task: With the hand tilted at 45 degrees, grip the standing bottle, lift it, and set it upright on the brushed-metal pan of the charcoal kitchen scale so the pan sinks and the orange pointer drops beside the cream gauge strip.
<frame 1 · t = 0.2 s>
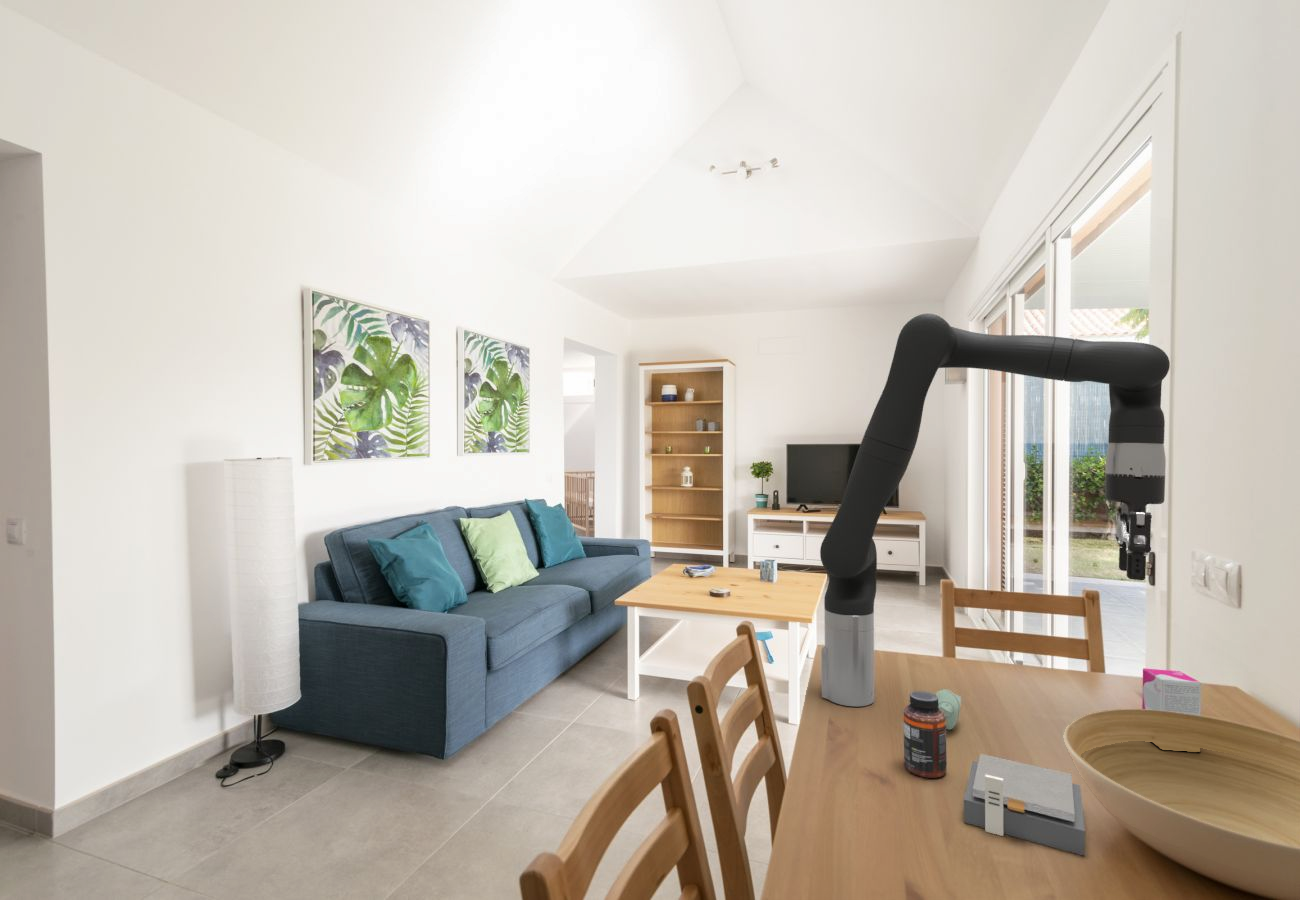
hand: (1131, 575, 100), 29 cm above the table, tool pointing down, fingers open, 8 cm apart
scale pan: (1022, 787, 83), point 4 cm above the table, slide at -0.5 cm
scale base: (1023, 814, 84), on the table
supplement box: (1170, 745, 104), on the table
supplement bottle: (924, 771, 96), on the table
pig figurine: (946, 730, 110), on the table
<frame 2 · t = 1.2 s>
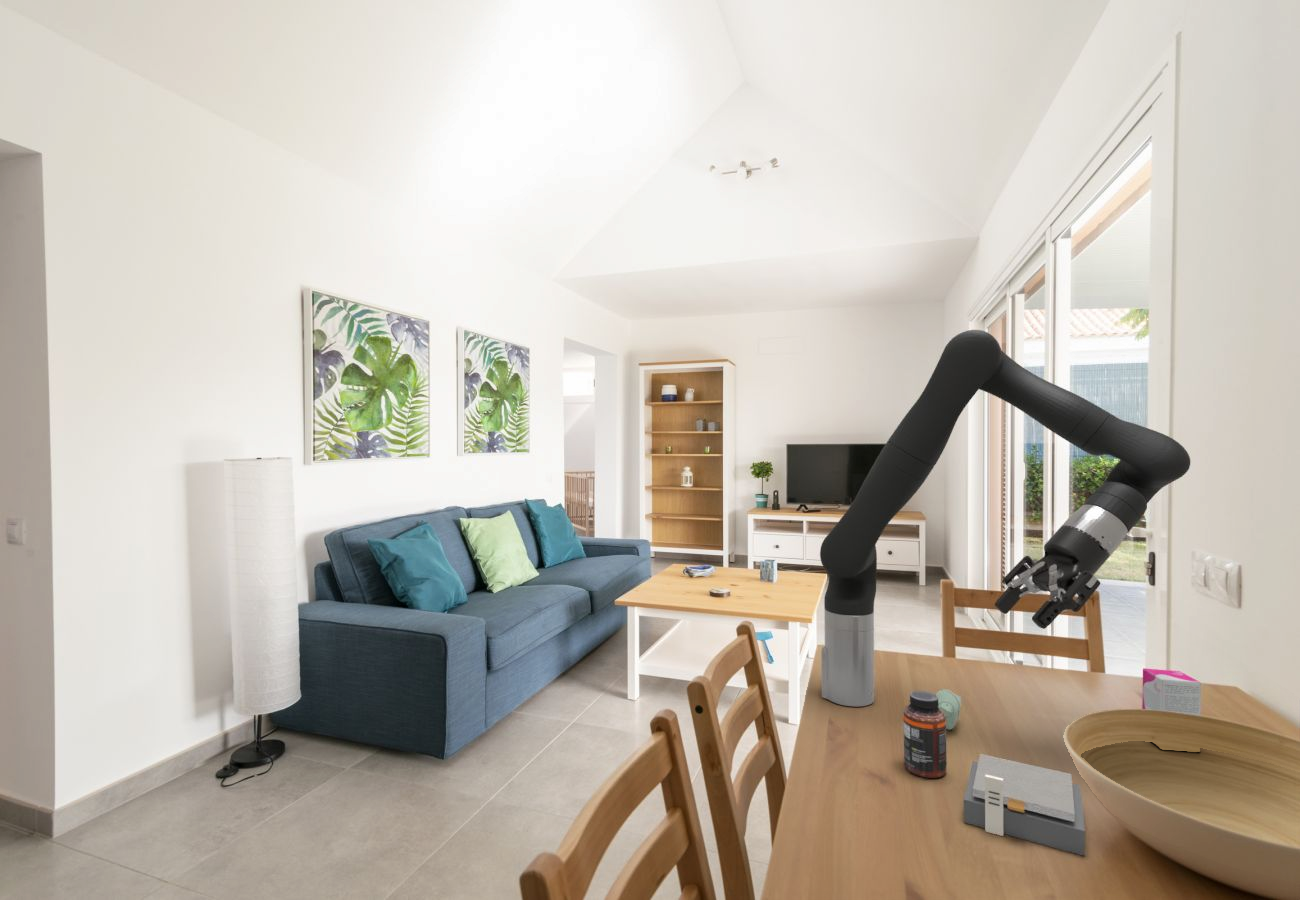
hand: (1017, 616, 97), 23 cm above the table, tool tilted 45°, fingers open, 8 cm apart
nothing on the table moved.
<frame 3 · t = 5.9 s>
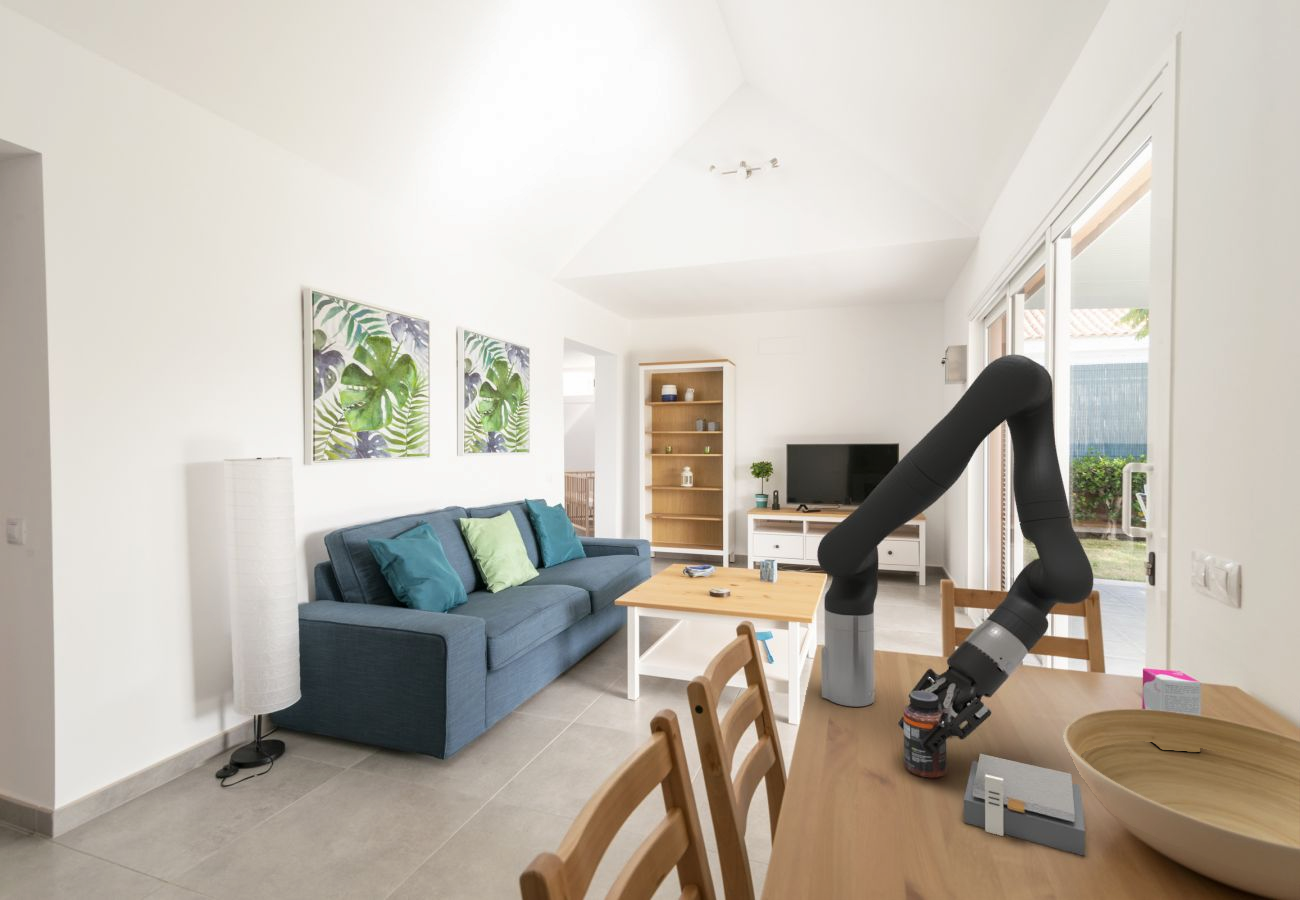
hand: (914, 738, 96), 5 cm above the table, tool tilted 45°, fingers closed on supplement bottle, 6 cm apart
supplement bottle: (924, 770, 96), on the table, touching gripper
everything else where it was.
when the fingers open (11 cm above the table, at t = 10.5 s): supplement bottle drops 2 cm, resting on scale pan.
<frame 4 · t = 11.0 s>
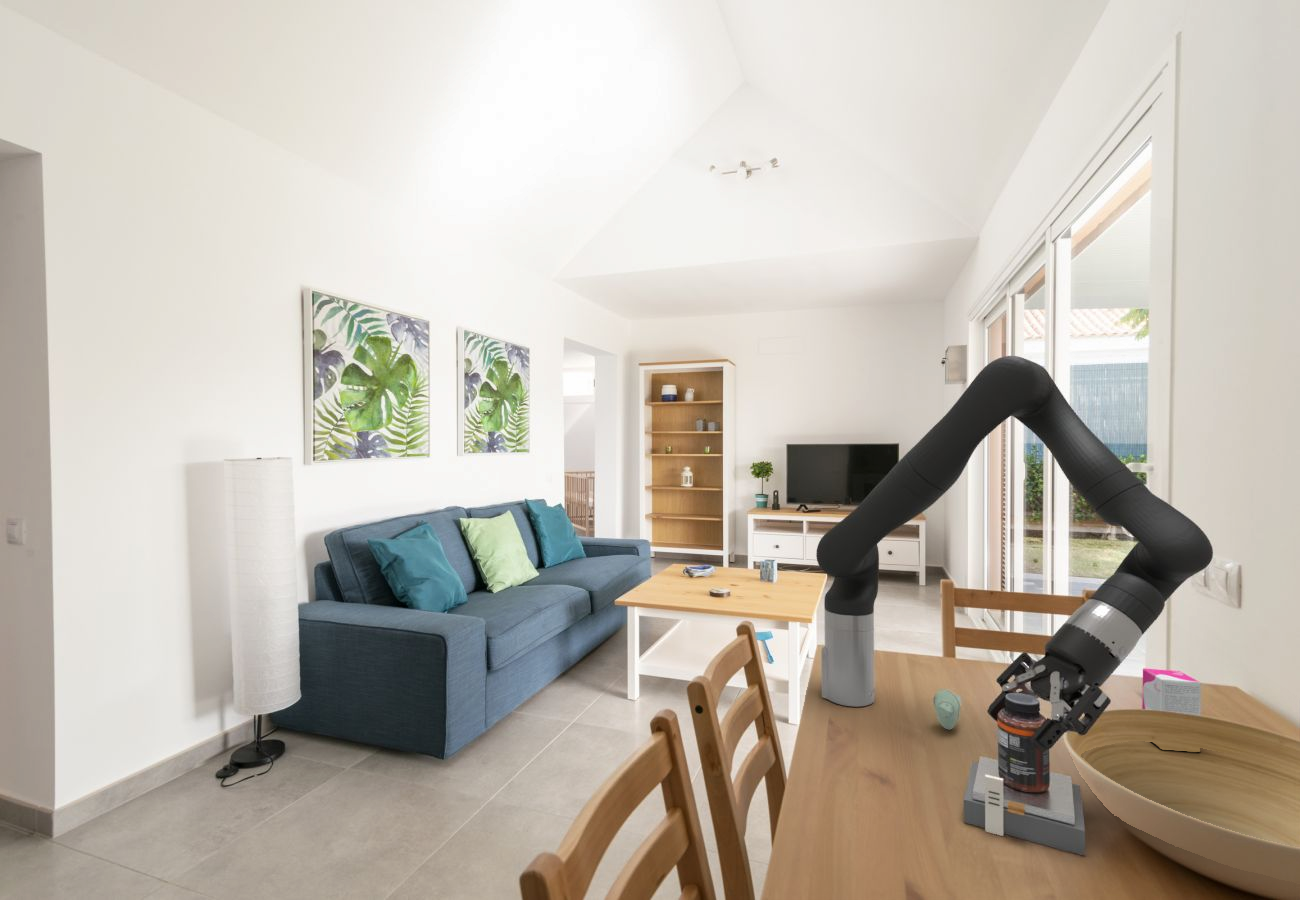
hand: (1013, 731, 84), 11 cm above the table, tool tilted 45°, fingers open, 8 cm apart
scale pan: (1022, 790, 83), point 4 cm above the table, slide at -0.9 cm, touching supplement bottle
supplement bottle: (1023, 784, 84), point 4 cm above the table, touching scale pan
everything else where it was.
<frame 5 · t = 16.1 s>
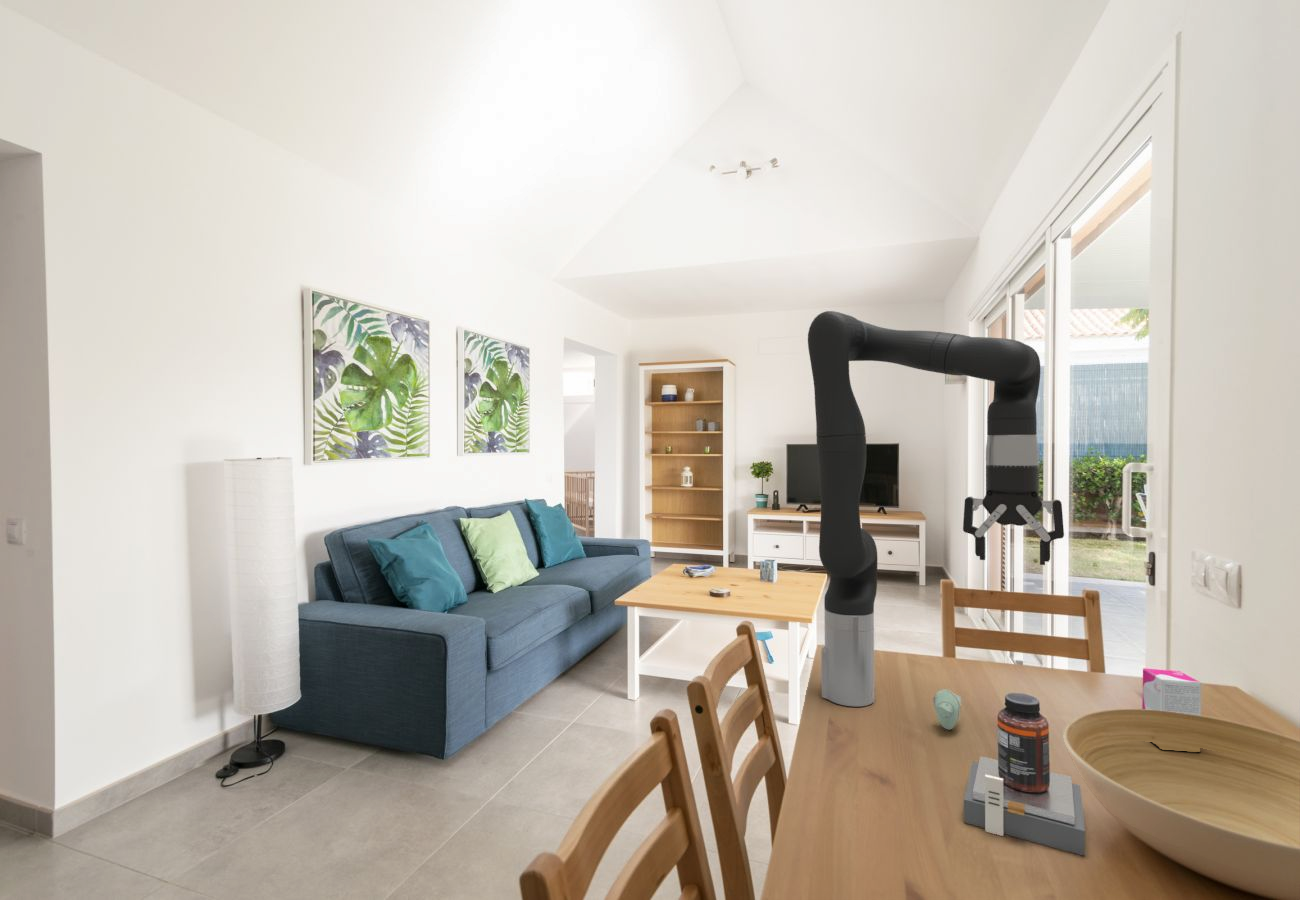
hand: (1012, 561, 104), 30 cm above the table, tool pointing down, fingers open, 8 cm apart
nothing on the table moved.
at the end: supplement bottle 0.3 cm off-centre on the scale base, point 3.9 cm above the scale base's base; supplement bottle tilted 0°; supplement bottle touching scale pan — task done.
